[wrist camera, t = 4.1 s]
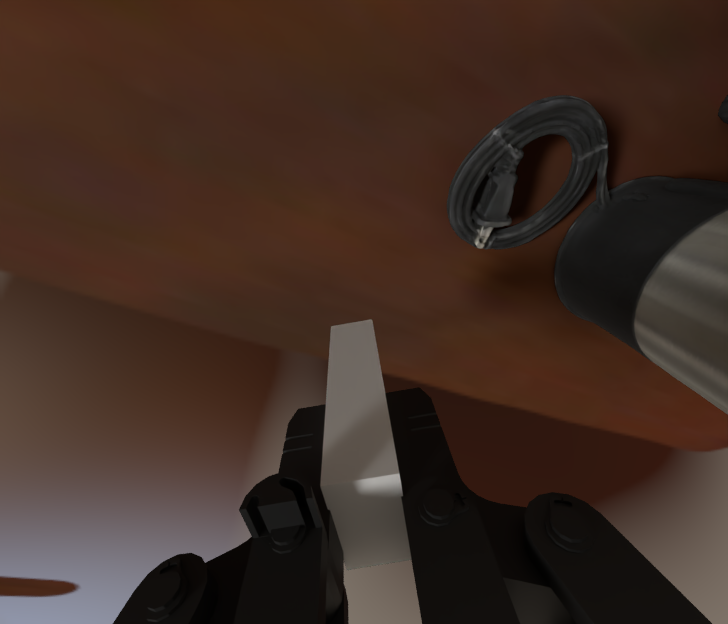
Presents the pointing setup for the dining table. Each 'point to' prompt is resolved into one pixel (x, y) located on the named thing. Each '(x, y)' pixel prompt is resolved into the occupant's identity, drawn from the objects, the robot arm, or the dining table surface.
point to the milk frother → (614, 241)
